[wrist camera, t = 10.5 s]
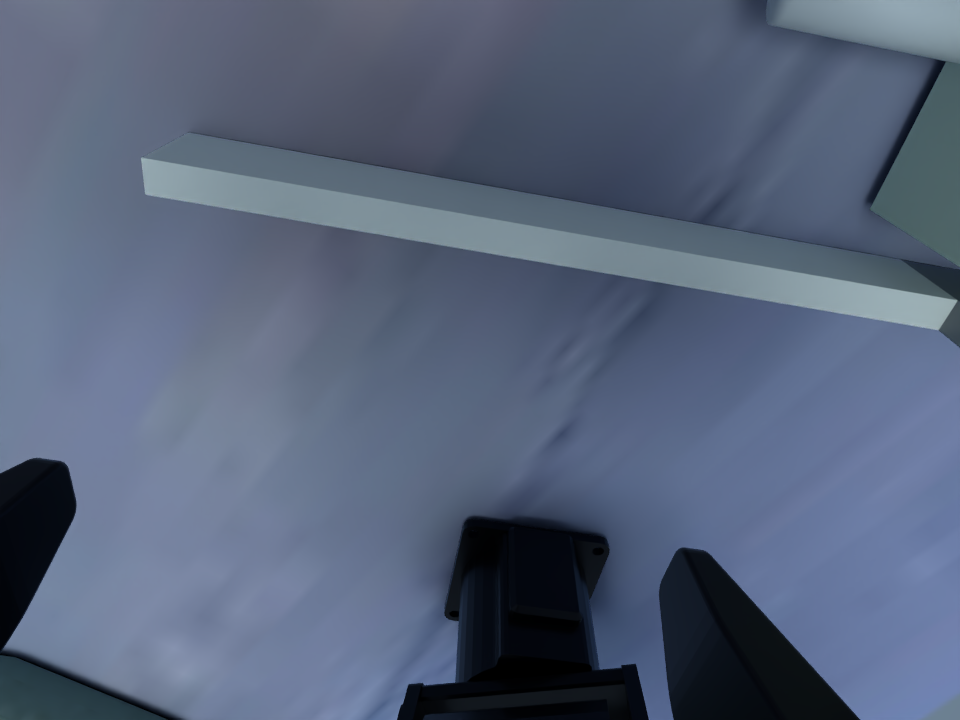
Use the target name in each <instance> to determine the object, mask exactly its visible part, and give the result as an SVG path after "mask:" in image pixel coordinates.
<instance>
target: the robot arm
mask: <svg viewBox="0 0 960 720" xmlns="http://www.w3.org/2000/svg"><path fill="white" fill-rule="evenodd" d="M75 513H76V498H75V494H74V489H73V485H72V481H71V476H70V472H69V469H68V466H67V465H66V464H65V463H64V462H61V461H57V460H49V459H42V458H33V459H29V460H27V461H25V462H23V463H21V464H19V465H17V466H15V467H13V468H10V469H8V470H6V471H4V472H2V473H0V653H1V651H2V650H3V648H4V646H5V645H6V643H7V642H8V640H9V639H10V637H11V636H12V634H13V632H14V631H15V629H16V628H17V626H18V624H19V623H20V621H21V619H22V618H23V616H24V614H25V612H26V610H27V609H28V607H29V605H30V603H31V601H32V599H33V597H34V595H35V593H36V592H37V590H38V588H39V586H40V584H41V582H42V580H43V578H44V576H45V574H46V572H47V570H48V568H49V566H50V564H51V562H52V560H53V558H54V556H55V554H56V552H57V550H58V548H59V546H60V544H61V542H62V540H63V539H64V537H65V535H66V533H67V531H68V529H69V527H70V525H71V523H72V521H73V519H74V516H75ZM471 530H476V531H471ZM597 547H600V548H597ZM609 551H610V549H609V544H608V541H607V540H606V539H605V538H603V537H600V536H593V535H586V534H578V533H571V532H564V531H557V530H550V529H543V528H535V527H528V526H521V525H514V524H507V523H500V522H492V521H485V520H478V519H471V520H467V521H466V522H465V523H464V525H463V527H462V532H461V536H460V541H459V545H458V550H457V554H456V559H455V563H454V568H453V572H452V577H451V581H450V585H449V590H448V594H447V599H446V603H445V612H444V613H445V616H446V618H448V619H450V620H453V621H459V627H458V645H457V663H456V680H455V683H446V684H435V685H424V684H423V683H417V684H409V685H408V688H407V692H406V695H405V699H404V702H403V705H401V707H400V711H399V714H398V718H397V720H649V719H648V714H647V710H646V706H645V701H644V697H643V693H642V688H641V684H640V680H639V676H638V671H637V667H636V664H629V665H621V667H622V668H614V669H603V670H600V669H599V662H598V655H597V648H596V642H595V635H594V628H593V621H592V615H591V608H590V598H591V596H592V594H593V591H594V589H595V586H596V584H597V581H598V579H599V577H600V574H601V572H602V569H603V567H604V564H605V562H606V560H607V557H608V555H609ZM659 600H660V610H661V620H662V630H663V641H664V651H665V661H666V671H667V681H668V689H669V697H670V702H671V708H672V713H673V718H674V720H860V719H859V718H858V717H857V716H856V715H855V713H854V712H853V711H852V710H851V709H850V708H849V707H848V706H847V705H846V704H845V702H844V701H843V700H842V699H841V698H840V697H839V696H838V695H837V694H836V693H835V691H834V690H833V689H832V688H831V687H830V686H829V685H828V684H827V683H826V681H825V680H824V679H823V678H822V677H821V676H820V675H819V674H818V673H817V672H816V670H815V669H814V668H813V667H812V666H811V665H810V664H809V663H808V662H807V661H806V659H805V658H804V657H803V656H802V655H801V654H800V653H799V652H798V651H797V650H796V648H795V647H794V646H793V645H792V644H791V643H790V642H789V641H788V640H787V639H786V637H785V636H784V635H783V634H782V633H781V632H780V631H779V630H778V629H777V628H776V626H775V625H774V624H773V623H772V622H771V621H770V620H769V619H768V618H767V617H766V615H765V614H764V613H763V612H762V611H761V610H760V609H759V608H758V607H757V606H756V604H755V603H754V602H753V601H752V600H751V599H750V598H749V597H748V596H747V595H746V593H745V592H744V591H743V590H742V589H741V588H740V587H739V586H738V585H737V583H736V582H735V581H734V580H733V579H732V578H731V577H730V576H729V575H728V574H727V572H726V571H725V570H724V569H723V568H722V567H721V566H720V565H719V564H718V563H717V561H716V560H715V559H714V558H713V557H712V556H711V555H710V554H709V553H708V552H706V551H704V550H698V549H691V548H680V549H678V550H677V551H676V553H675V554H674V556H673V558H672V560H671V562H670V564H669V566H668V568H667V570H666V572H665V575H664V577H663V579H662V581H661V584H660V589H659Z"/></svg>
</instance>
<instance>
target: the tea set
mask: <svg viewBox="0 0 960 720" xmlns="http://www.w3.org/2000/svg"><path fill="white" fill-rule="evenodd" d="M0 720H167V719H165V718H163V717H160V716H158V715H155V714H153V713H150V712H148V711H145V710H143V709H141V708H138V707H136V706H133V705H131V704H128V703H126V702H123V701H121V700H119V699H116V698H114V697H111V696H109V695H106V694H104V693H101V692H99V691H97V690H94V689H92V688H89V687H87V686H84V685H82V684H79V683H77V682H75V681H72V680H70V679H67V678H65V677H62V676H60V675H57V674H55V673H53V672H50V671H48V670H45V669H43V668H40V667H38V666H35V665H33V664H31V663H28V662H26V661H23V660H21V659H18V658H16V657H9V656H2V655H0Z"/></svg>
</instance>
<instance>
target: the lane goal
mask: <svg viewBox="0 0 960 720" xmlns="http://www.w3.org/2000/svg"><path fill="white" fill-rule="evenodd" d="M141 162H142V171H143V179H144V188H145V195H150V196H156V197H162V198H168V199H173V200H179V201H185V202H191V203H197V204H203V205H208V206H214V207H220V208H226V209H232V210H238V211H244V212H249V213H255V214H261V215H267V216H273V217H279V218H285V219H290V220H296V221H302V222H308V223H314V224H320V225H326V226H331V227H337V228H343V229H349V230H355V231H361V232H366V233H372V234H378V235H384V236H390V237H396V238H402V239H407V240H413V241H419V242H425V243H431V244H437V245H443V246H448V247H454V248H460V249H466V250H472V251H478V252H483V253H489V254H495V255H501V256H507V257H513V258H519V259H524V260H530V261H536V262H542V263H548V264H554V265H560V266H565V267H571V268H577V269H583V270H589V271H595V272H601V273H606V274H612V275H618V276H624V277H630V278H636V279H641V280H647V281H653V282H659V283H665V284H671V285H677V286H682V287H688V288H694V289H700V290H706V291H712V292H718V293H723V294H729V295H735V296H741V297H747V298H753V299H759V300H764V301H770V302H776V303H782V304H788V305H794V306H799V307H805V308H811V309H817V310H823V311H829V312H835V313H840V314H846V315H852V316H858V317H864V318H870V319H876V320H881V321H887V322H893V323H899V324H905V325H911V326H916V327H922V328H928V329H934V330H939V331H940V332H941V333H943V334H944V335H945V336H946V337H947V338H949V339H950V340H951V341H952V342H954V343H955V344H956V345H957V346H959V347H960V270H956V269H950V268H945V267H939V266H933V265H928V264H922V263H917V262H911V261H905V260H900V259H894V258H889V257H883V256H877V255H872V254H866V253H861V252H855V251H849V250H844V249H838V248H833V247H827V246H822V245H816V244H810V243H805V242H799V241H794V240H788V239H782V238H777V237H771V236H766V235H760V234H754V233H749V232H743V231H738V230H732V229H726V228H721V227H715V226H710V225H704V224H698V223H693V222H687V221H682V220H676V219H670V218H665V217H659V216H654V215H648V214H643V213H637V212H631V211H626V210H620V209H615V208H609V207H603V206H598V205H592V204H587V203H581V202H575V201H570V200H564V199H559V198H553V197H547V196H542V195H536V194H531V193H525V192H519V191H514V190H508V189H503V188H497V187H492V186H486V185H480V184H475V183H469V182H464V181H458V180H452V179H447V178H441V177H436V176H430V175H424V174H419V173H413V172H408V171H402V170H396V169H391V168H385V167H380V166H374V165H368V164H363V163H357V162H352V161H346V160H340V159H335V158H329V157H324V156H318V155H313V154H307V153H301V152H296V151H290V150H285V149H279V148H273V147H268V146H262V145H257V144H251V143H245V142H240V141H234V140H229V139H223V138H217V137H212V136H206V135H201V134H195V133H189V132H188V133H186V134H185V135H183V136H181V137H179V138H177V139H175V140H173V141H171V142H169V143H168V144H166V145H164V146H162V147H160V148H158V149H156V150H154V151H152V152H151V153H149V154H147V155H145V156H143V157H141Z"/></svg>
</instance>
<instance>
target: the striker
mask: <svg viewBox="0 0 960 720" xmlns="http://www.w3.org/2000/svg"><path fill="white" fill-rule="evenodd" d="M766 20H767V23H768V24H769V25H771V26H776V27H780V28H785V29H790V30H795V31H800V32H805V33H810V34H815V35H820V36H825V37H829V38H834V39H839V40H844V41H849V42H854V43H859V44H864V45H869V46H873V47H878V48H883V49H888V50H893V51H898V52H903V53H908V54H913V55H918V56H922V57H927V58H932V59H937V60H942V61H946V63H945V65H944V67H943V69H942V70H941V72H940V74H939V76H938V78H937V80H936V82H935V84H934V86H933V88H932V90H931V92H930V94H929V96H928V98H927V100H926V102H925V103H924V105H923V107H922V109H921V111H920V113H919V115H918V117H917V119H916V121H915V123H914V125H913V127H912V129H911V131H910V133H909V134H908V136H907V138H906V140H905V142H904V144H903V146H902V148H901V150H900V152H899V154H898V156H897V158H896V160H895V162H894V164H893V165H892V167H891V169H890V171H889V173H888V175H887V177H886V179H885V181H884V183H883V185H882V187H881V189H880V191H879V193H878V195H877V196H876V198H875V200H874V202H873V204H872V206H871V208H870V210H871V211H873V212H874V213H876V214H878V215H879V216H881V217H882V218H884V219H885V220H887V221H888V222H890V223H892V224H893V225H895V226H896V227H898V228H899V229H901V230H902V231H904V232H906V233H907V234H909V235H910V236H912V237H913V238H915V239H916V240H918V241H920V242H921V243H923V244H924V245H926V246H927V247H929V248H931V249H932V250H934V251H935V252H937V253H938V254H940V255H941V256H943V257H945V258H946V259H948V260H949V261H951V262H952V263H954V264H955V265H957V266H959V267H960V0H768V1H767V6H766Z"/></svg>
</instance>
